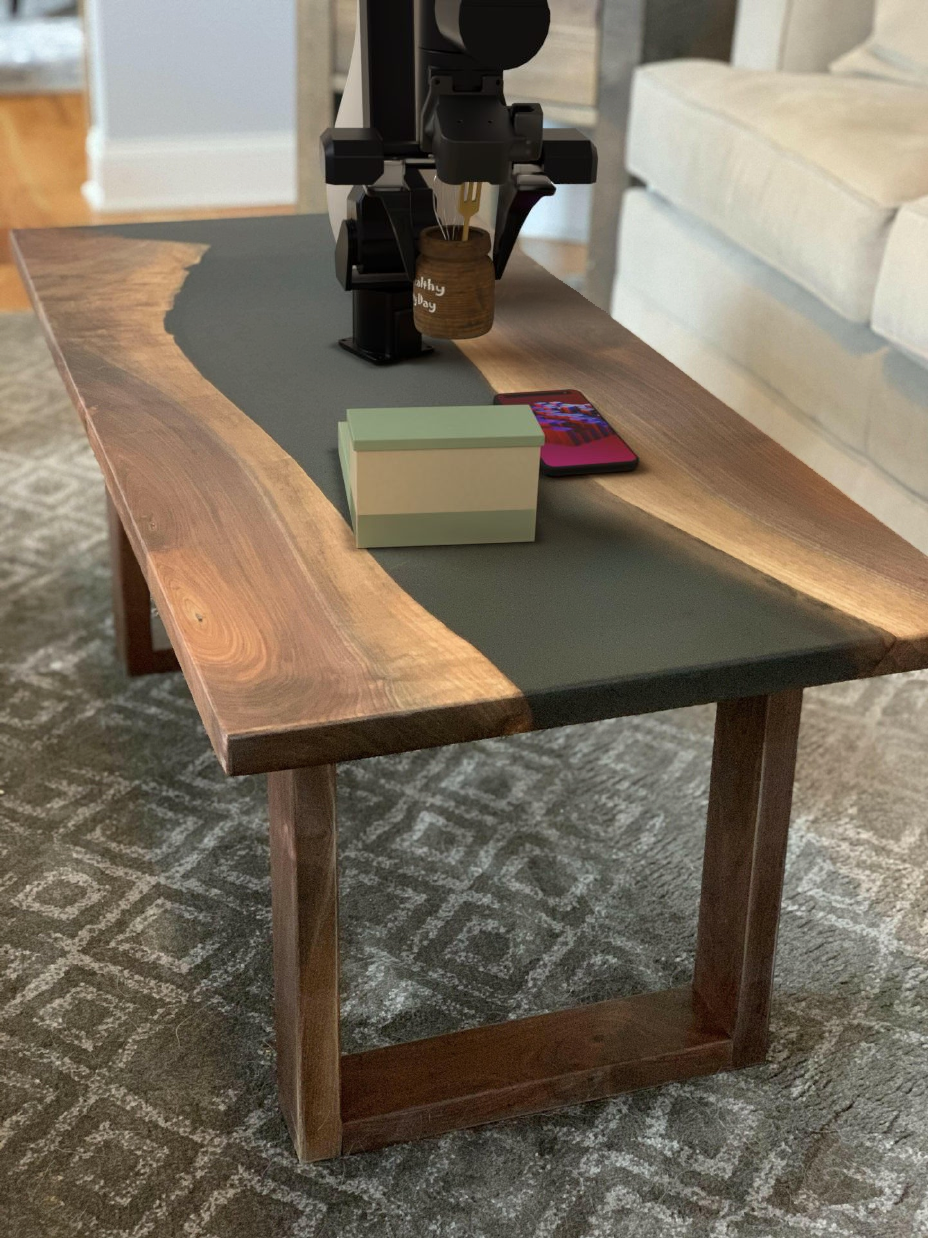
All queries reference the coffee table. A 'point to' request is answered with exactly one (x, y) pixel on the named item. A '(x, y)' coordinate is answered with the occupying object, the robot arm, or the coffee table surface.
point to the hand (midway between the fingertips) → (453, 279)
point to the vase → (353, 118)
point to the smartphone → (573, 434)
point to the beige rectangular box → (441, 474)
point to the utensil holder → (455, 275)
